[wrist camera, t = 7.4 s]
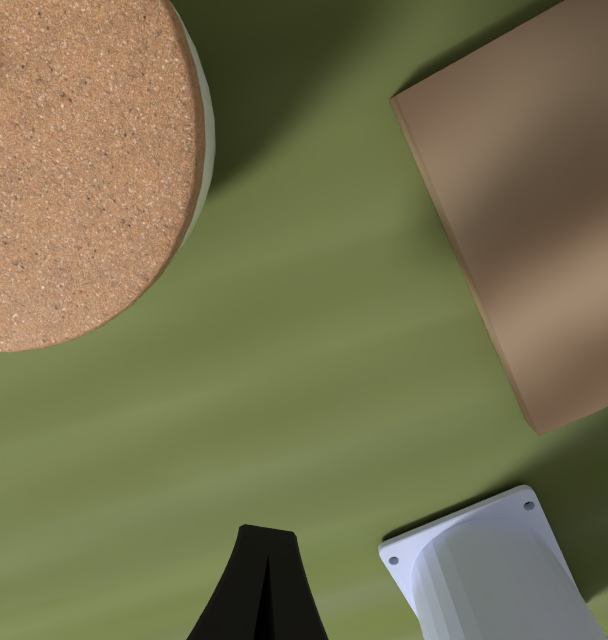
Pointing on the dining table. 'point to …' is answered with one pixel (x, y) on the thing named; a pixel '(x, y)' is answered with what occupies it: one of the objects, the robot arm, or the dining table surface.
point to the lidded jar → (94, 160)
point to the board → (528, 199)
